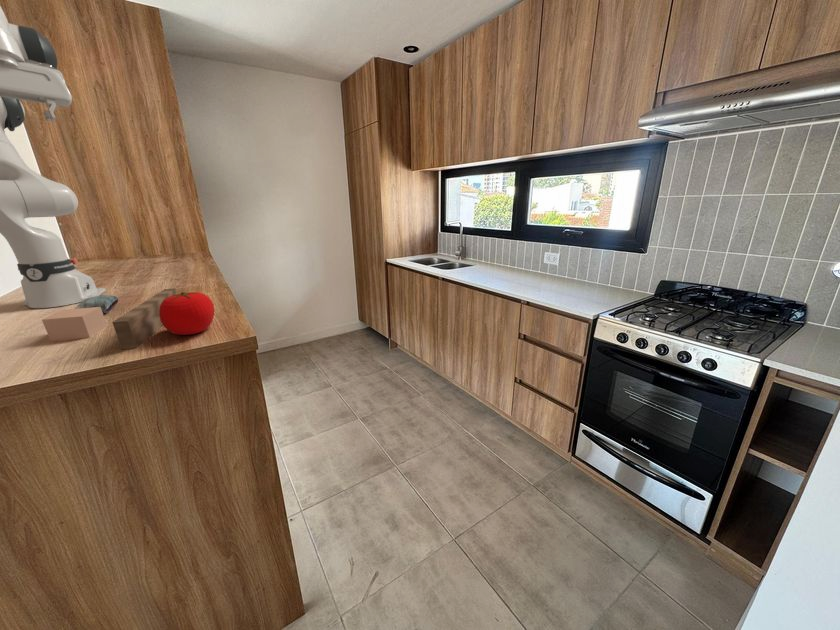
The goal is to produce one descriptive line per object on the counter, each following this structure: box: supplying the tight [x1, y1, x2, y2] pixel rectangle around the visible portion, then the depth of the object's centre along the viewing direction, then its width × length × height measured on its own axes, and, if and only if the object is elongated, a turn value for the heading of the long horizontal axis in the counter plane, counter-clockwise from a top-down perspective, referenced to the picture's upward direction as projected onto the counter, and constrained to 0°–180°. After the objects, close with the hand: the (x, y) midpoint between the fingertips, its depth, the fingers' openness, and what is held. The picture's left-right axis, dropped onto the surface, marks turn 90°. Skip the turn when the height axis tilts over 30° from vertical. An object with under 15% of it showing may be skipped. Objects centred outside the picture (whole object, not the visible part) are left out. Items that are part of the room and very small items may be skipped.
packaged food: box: [74, 294, 119, 315], centre depth 103 cm, size 9×12×5 cm
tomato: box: [159, 291, 215, 336], centre depth 87 cm, size 12×13×11 cm
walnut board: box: [112, 288, 178, 350], centre depth 91 cm, size 30×3×7 cm, turn 17°
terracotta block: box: [41, 307, 108, 342], centre depth 86 cm, size 8×8×6 cm
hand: (22, 116), depth 76 cm, fingers open, 8 cm apart
